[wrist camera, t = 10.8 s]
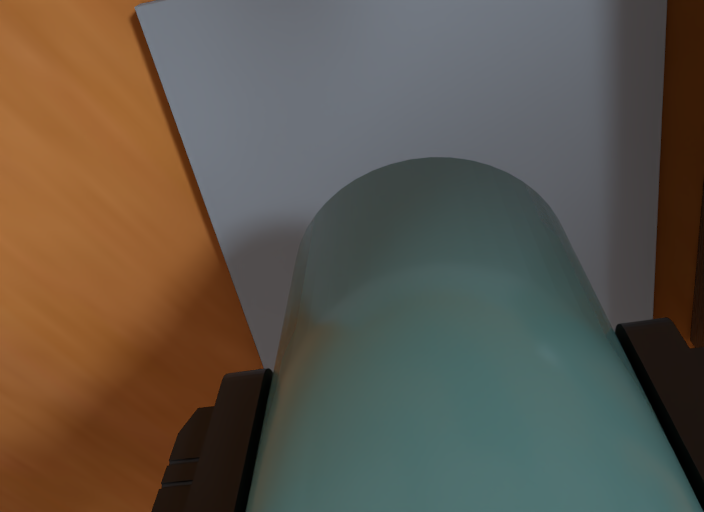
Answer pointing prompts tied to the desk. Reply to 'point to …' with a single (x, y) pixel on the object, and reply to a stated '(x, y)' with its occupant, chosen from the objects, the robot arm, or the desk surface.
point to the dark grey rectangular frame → (699, 290)
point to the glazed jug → (453, 362)
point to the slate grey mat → (416, 119)
